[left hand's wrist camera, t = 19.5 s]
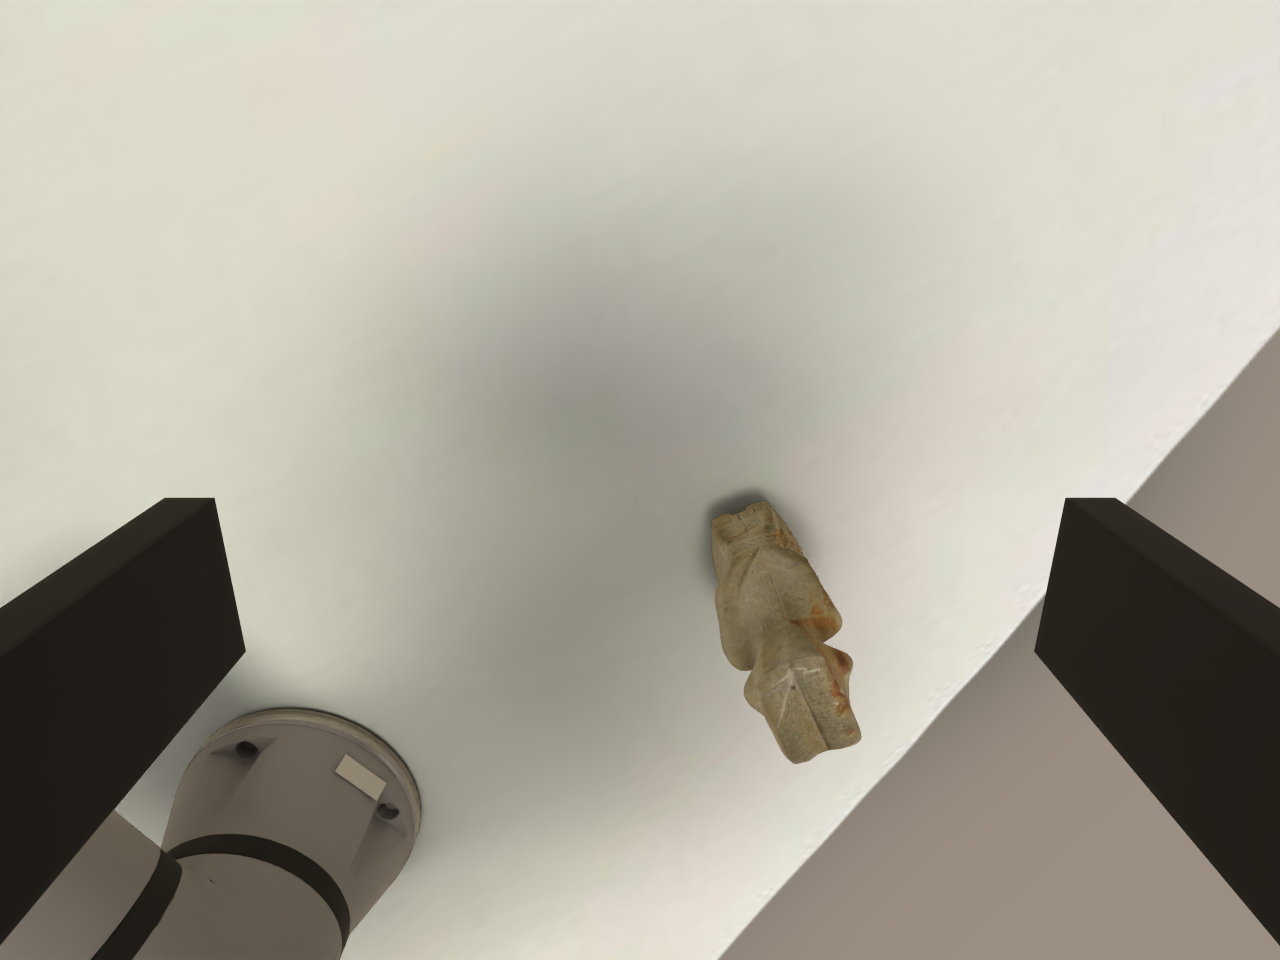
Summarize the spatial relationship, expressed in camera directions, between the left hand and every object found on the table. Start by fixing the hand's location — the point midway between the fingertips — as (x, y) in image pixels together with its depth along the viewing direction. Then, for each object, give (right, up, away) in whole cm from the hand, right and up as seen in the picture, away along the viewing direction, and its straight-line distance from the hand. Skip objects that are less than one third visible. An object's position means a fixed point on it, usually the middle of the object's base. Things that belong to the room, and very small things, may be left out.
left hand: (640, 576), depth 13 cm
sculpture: (+7, -2, +34) cm, 35 cm away
